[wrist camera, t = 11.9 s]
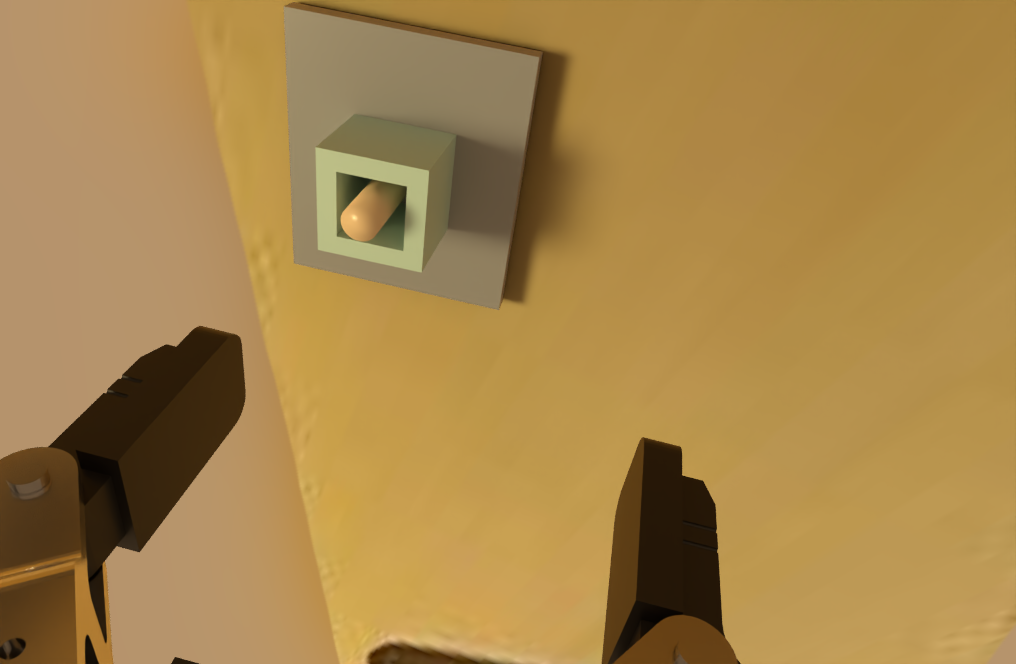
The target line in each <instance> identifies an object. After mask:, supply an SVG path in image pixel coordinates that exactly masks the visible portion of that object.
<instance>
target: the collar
mask: <svg viewBox="0 0 1016 664" xmlns="http://www.w3.org/2000/svg"><path fill="white" fill-rule="evenodd" d="M455 145H456V134H451V133H446V132H442V131H437V130H432V129H427V128H422V127H417V126H412V125H407V124H402V123H397V122H392V121H387V120H382V119H378V118H373V117H368V116H363V115H358V114H354V115H353V116H352V117H351V118H349V119H348V120H347V121H346V122H345V123H343V124H342V125H341V126H340V127H339V128H338V129H336V130H335V131H334V132H333V133H332V134H330V135H329V136H328V137H327V138H326V139H324V140H323V141H322V142H321V143H320V144H319V145H317V146H316V147H315V149H316V191H317V233H318V250H321V251H325V252H330V253H335V254H339V255H344V256H348V257H353V258H357V259H362V260H366V261H371V262H376V263H380V264H385V265H389V266H394V267H398V268H403V269H407V270H412V271H416V272H421V273H422V271H423V270H424V268H425V266H426V264H427V263H428V261H429V259H430V258H431V256H432V254H433V253H434V251H435V249H436V248H437V246H438V244H439V243H440V241H441V239H442V238H443V236H444V234H445V232H446V231H447V229H448V219H449V209H450V198H451V187H452V177H453V166H454V156H455ZM372 179H373V180H378V181H383V182H388V183H392V184H397V185H402V186H407V195H406V204H405V203H400V204H399V206H398V207H397V208H396V209H395V211H394V212H393V213H392V215H391V216H390V217H389V219H388V220H387V221H386V223H385V224H384V225H383V226H382V228H381V229H380V230H379V232H378V233H377V234H376V236H375V237H374V238H373V239H371V240H369V241H364V242H363V241H357V240H354V239H352V238H351V237H349V236H348V235H347V234H346V233H345V231H344V230H343V228H342V225H341V215H342V213H343V211H344V210H345V209H346V208H347V207H348V206H349V204H350V203H351V202H352V201H353V200H354V199H355V198H356V197H357V196H358V194H359V193H360V192H361V191H362V190H363V189H364V188H365V187H366V186H367V185H368V183H369V182H370V181H371V180H372Z"/></svg>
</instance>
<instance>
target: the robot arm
mask: <svg viewBox="0 0 1016 664" xmlns="http://www.w3.org/2000/svg"><path fill="white" fill-rule="evenodd" d="M244 402H245V380H244V368H243V355H242V343H241V339H240V337H239V336H238V335H235V334H231V333H227V332H223V331H219V330H215V329H211V328H207V327H203V326H199V327H196V328H195V329H193V330H192V331H191V332H190V333H189V335H187V336H186V337H185V338H184V339H183V341H182V342H181V343H180V344H179V345H178V346H177V347H175V346H171V345H164V346H162V347H160V348H158V349H156V350H154V351H152V352H150V353H148V354H146V355H144V356H142V357H140V358H139V359H138V360H137V361H136V362H135V363H134V364H133V365H132V366H131V367H130V368H129V369H128V370H127V371H126V372H125V373H124V374H123V375H122V378H121V379H118V380H117V381H116V382H115V383H114V384H112V385H111V386H110V387H109V388H108V390H107V393H103V394H102V395H101V396H100V397H99V398H98V399H97V400H96V401H95V402H94V403H93V404H92V405H91V406H90V407H89V408H88V409H87V410H86V411H85V412H84V413H83V414H82V415H81V416H80V417H79V418H77V419H76V421H74V423H72V424H71V425H70V426H69V427H68V428H67V429H66V430H65V431H64V432H63V433H62V434H61V435H60V436H59V437H58V438H57V439H56V440H55V441H54V442H53V443H52V444H51V445H50V446H49V447H39V448H38V447H37V448H30V449H26V450H22V451H18V452H15V453H13V454H10V455H8V456H6V457H4V458H2V459H1V460H0V664H113V656H112V642H111V628H110V613H109V597H108V582H107V568H106V564H105V560H106V559H107V557H108V556H109V555H110V553H111V552H112V551H113V549H115V547H116V546H118V547H122V548H126V549H129V550H133V551H137V552H140V551H141V550H142V548H143V547H144V546H145V544H146V543H147V541H148V540H149V539H150V538H151V536H152V535H153V534H154V532H155V531H156V530H157V528H158V527H159V526H160V524H161V523H162V522H163V520H164V519H165V518H166V516H167V515H168V514H169V512H170V511H171V510H172V508H173V507H174V506H175V504H176V503H177V502H178V500H179V499H180V498H181V496H182V495H183V494H184V492H185V491H186V490H187V488H188V487H189V486H190V484H191V483H192V482H193V480H194V479H195V478H196V476H197V475H198V474H199V472H200V471H201V470H202V468H203V467H204V466H205V464H206V463H207V462H208V460H209V459H210V458H211V456H212V455H213V454H214V452H215V451H216V450H217V448H218V447H219V446H220V444H221V443H222V442H223V440H224V439H225V438H226V436H227V435H228V434H229V432H230V431H231V430H232V428H233V427H234V426H235V424H236V423H237V421H238V419H239V417H240V415H241V413H242V410H243V407H244ZM716 529H717V525H716V507H715V503H714V501H713V499H712V497H711V495H710V493H709V491H708V490H707V488H706V486H705V484H704V482H703V481H702V480H698V479H694V478H690V477H686V476H682V449H681V447H680V446H676V445H672V444H668V443H664V442H660V441H656V440H652V439H648V438H644V437H642V438H641V440H640V442H639V444H638V447H637V450H636V452H635V455H634V458H633V460H632V463H631V466H630V469H629V471H628V474H627V477H626V479H625V482H624V485H623V488H622V490H621V494H620V497H619V501H618V505H617V510H616V515H615V523H614V533H613V544H612V555H611V566H610V578H609V589H608V600H607V611H606V622H605V633H604V644H603V655H602V664H740V662H739V661H738V660H737V658H736V656H735V653H734V651H733V649H732V647H731V645H730V644H729V642H728V641H727V640H726V638H725V635H724V632H723V625H722V610H721V593H720V576H719V559H718V553H717V549H718V542H717V533H716ZM171 664H198V663H195V662H191V661H188V660H184V659H180V658H177V657H175V658H174V660H173V662H172V663H171Z"/></svg>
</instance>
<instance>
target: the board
mask: <svg viewBox="0 0 1016 664" xmlns="http://www.w3.org/2000/svg"><path fill="white" fill-rule="evenodd" d="M284 24H285V50H286V75H287V100H288V125H289V150H290V176H291V201H292V226H293V251H294V263H295V264H299V265H304V266H308V267H312V268H317V269H321V270H325V271H330V272H334V273H339V274H343V275H347V276H352V277H356V278H361V279H365V280H369V281H374V282H378V283H383V284H387V285H391V286H396V287H400V288H405V289H409V290H413V291H418V292H422V293H426V294H431V295H435V296H440V297H444V298H448V299H453V300H457V301H462V302H466V303H470V304H475V305H479V306H484V307H488V308H492V309H497V310H499V308H500V306H501V303H502V301H503V295H504V288H505V282H506V276H507V270H508V264H509V258H510V251H511V245H512V239H513V233H514V227H515V221H516V214H517V208H518V202H519V196H520V190H521V184H522V177H523V171H524V165H525V159H526V153H527V147H528V141H529V134H530V128H531V122H532V116H533V110H534V104H535V97H536V91H537V85H538V79H539V73H540V67H541V60H542V54H543V52H542V51H537V50H532V49H527V48H522V47H517V46H512V45H507V44H501V43H496V42H491V41H486V40H481V39H476V38H471V37H466V36H461V35H456V34H451V33H446V32H441V31H436V30H431V29H426V28H421V27H416V26H411V25H406V24H401V23H396V22H391V21H386V20H381V19H376V18H370V17H365V16H360V15H355V14H350V13H345V12H340V11H335V10H330V9H325V8H320V7H315V6H310V5H305V4H300V3H295V2H293V3H290V4H288V5H286V6H284ZM354 114H358V115H363V116H368V117H373V118H378V119H382V120H387V121H392V122H397V123H402V124H407V125H412V126H417V127H422V128H427V129H432V130H437V131H442V132H446V133H451V134H456V145H455V156H454V166H453V177H452V187H451V198H450V209H449V219H448V229H447V231H446V232H445V234H444V236H443V238H442V239H441V241H440V243H439V244H438V246H437V248H436V249H435V251H434V253H433V254H432V256H431V258H430V259H429V261H428V263H427V264H426V266H425V268H424V270H423V271H422V273H421V272H416V271H412V270H407V269H403V268H398V267H394V266H389V265H385V264H380V263H376V262H371V261H366V260H362V259H357V258H353V257H348V256H344V255H339V254H335V253H330V252H325V251H321V250H318V233H317V191H316V149H315V147H316V146H317V145H319V144H320V143H321V142H322V141H323V140H324V139H326V138H327V137H328V136H329V135H330V134H332V133H333V132H334V131H335V130H336V129H338V128H339V127H340V126H341V125H342V124H343V123H345V122H346V121H347V120H348V119H349V118H351V117H352V116H353V115H354ZM406 195H407V186H402V185H397V184H392V183H388V182H383V181H378V180H373V179H372V180H371V181H370V182H369V183H368V185H367V186H366V187H365V188H364V189H363V190H362V191H361V192H360V193H359V194H358V196H357V197H356V198H355V199H354V200H353V201H352V202H351V203H350V204H349V206H348V207H347V208H346V209H345V210H344V211H343V213H342V215H341V225H342V228H343V230H344V231H345V233H346V234H347V235H348V236H349V237H351V238H352V239H354V240H357V241H363V242H364V241H369V240H371V239H373V238H374V237H375V236H376V234H377V233H378V232H379V230H380V229H381V228H382V226H383V225H384V224H385V223H386V221H387V220H388V219H389V217H390V216H391V215H392V213H393V212H394V211H395V209H396V208H397V207H398V206H399V204H400V203H405V204H406Z"/></svg>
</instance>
